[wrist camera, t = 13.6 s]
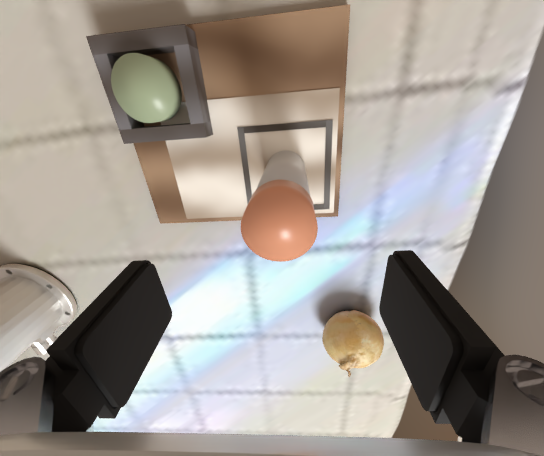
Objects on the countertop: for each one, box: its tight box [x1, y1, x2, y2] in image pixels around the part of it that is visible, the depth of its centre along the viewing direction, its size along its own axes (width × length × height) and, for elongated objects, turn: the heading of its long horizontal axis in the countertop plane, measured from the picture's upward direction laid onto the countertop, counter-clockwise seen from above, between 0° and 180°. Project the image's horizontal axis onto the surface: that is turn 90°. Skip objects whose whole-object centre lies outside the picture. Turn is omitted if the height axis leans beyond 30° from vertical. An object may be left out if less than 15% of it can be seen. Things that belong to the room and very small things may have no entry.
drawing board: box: [86, 5, 350, 223], centre depth 23 cm, size 18×21×3 cm
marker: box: [241, 150, 318, 261], centre depth 19 cm, size 4×4×13 cm
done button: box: [111, 53, 182, 123], centre depth 20 cm, size 5×5×2 cm
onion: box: [322, 309, 384, 377], centre depth 32 cm, size 8×8×7 cm
